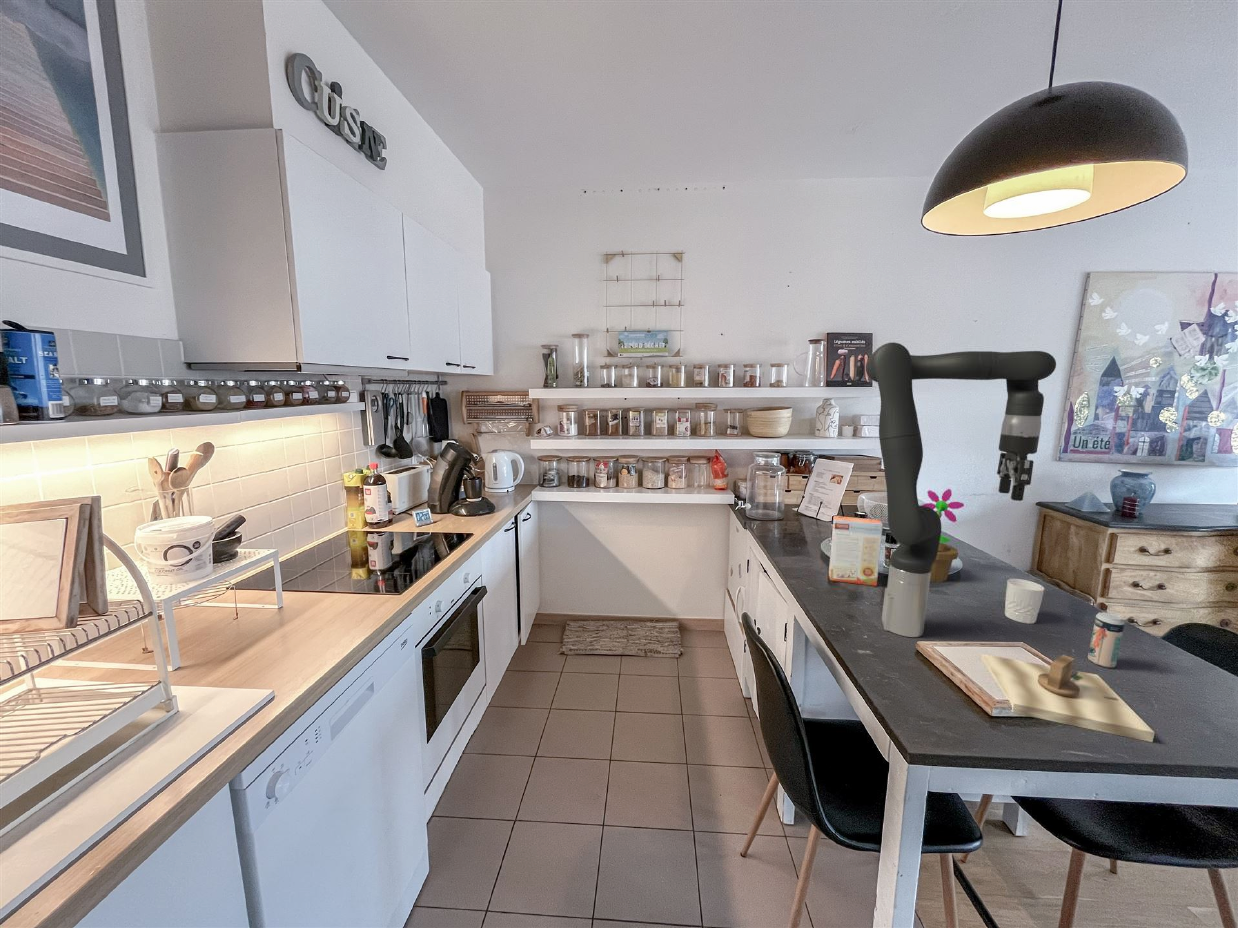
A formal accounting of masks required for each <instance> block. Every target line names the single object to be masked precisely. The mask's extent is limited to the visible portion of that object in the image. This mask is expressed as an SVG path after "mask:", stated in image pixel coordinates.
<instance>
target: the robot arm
mask: <svg viewBox="0 0 1238 928" xmlns="http://www.w3.org/2000/svg"><path fill="white" fill-rule="evenodd" d="M1056 368H1057V361H1056V359H1055V357H1054V356H1053V355H1052V354H1050V353H1048V352H1046V351H1042V350H1025V351H1023V350H1022V351H1006V352H1003V351H988V350H987V351H984V350H983V351H982V350H981V351H978V350H977V351H975V350H974V351H972V350H970V351H969V350H968V351H956V352H948V353H947V352H946V353H940V354H933V355H932V354H931V355H929V354H928V355H915V354H911V352H910V351H909V349H907V347H906V346H905V345H903V344H901V343H898V342H887V343H884V344H882V345H880V346H879V347H878V348H877V349H876V350H875V351H874V352H873V353H872V354H871V355H870V356H869V358H868V359H867V361H866V362H865V373H866V375H867V377H868V378H869V379H870V380H871V381H873V382H875V383H877V386H878V391H879V397H880V411H879V421H878V437H879V446H880V452H881V457H882V462H883V471H884V478H885V486H886V487H885V488H886V497H887V499H886V501H887V503H886V504H887V522H888V528H889V529H888V530H889V532H890V534H891V536H892V537H893V538H894V539H895V540H896V542H897V543H899V545H898V546H897V547H896V549H895V550H894V551H892V553H891V556H890V558H889V559H890V561H889V568H888V577H887V587H885V588H884V596H883V603H882V605H883V606H882V614H881V623H882V625H883V629H884V631H888V632H891V633H894V634H895V635H899V636H903V637H907V638H908V637H909V638H919V637H922V635H923V634H924V629H925V620H926V615H927V605H928V597H929V590H930V583H931V581H930V576H931V569H932V565H933V563H934V561H935V560H936V557H937V553H938V548H939V543H941V542H940V537H941V536H942V535H941V534H942V521H941V518H940V517H939V515H938V514H937V513H936V511H937V510H934V509H932V508H930V507H927V506H921V505H920V504H919V499H918V493H917V487H918V480H919V476H920V475H919V474H920V472H921V467H922V464H923V458H924V448H923V442H922V440H923V439H922V435H921V431H920V430H921V429H920V424H919V419H918V414H917V413H918V412H917V409H916V403H915V400H914V393H913V392H914V391H913V381H915V380H932V379H933V380H966V381H969V380H970V381H973V380H974V381H992V380H994V381H995V380H1006V381H1005V382H1006V393H1007V398H1006V399H1007V400H1006V405H1005V411H1004V417H1003V421H1002V424H1001V430H1000V437H999V444H998V450H999V451H1000V454H999V460H998V465H997V466H998V467H997V471H996V475H998V477H999V484H998V485H999V486H998V493H1000V494H1010V491H1011V496H1010V499H1011V500H1012V501H1017V502H1021V501H1023V500H1024V495H1025V494H1024V493H1025V488H1026V487H1027V486H1030V485H1031V483H1032V475H1033V470H1034V469H1033V468H1034V460H1033V459H1032V460H1031V459H1028V455H1035V454H1036V453H1037V452H1038V447H1039V441H1040V434H1041V429H1042V415H1043V408H1044V404H1045V398H1044V397H1045V396H1044V394H1043V392H1040V390H1039V381H1041V380H1045V379H1046V378H1048V377H1050V376H1051V375H1052V374H1053V373H1054V372H1055V370H1056ZM1011 485H1012V488H1011Z"/></svg>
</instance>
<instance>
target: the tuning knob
mask: <svg viewBox="0 0 1238 928" xmlns="http://www.w3.org/2000/svg"><path fill="white" fill-rule="evenodd" d="M1074 663H1075V658H1073V657H1070V656H1067V655H1065V654H1062V655H1060V656H1059V657H1057V658H1056V659H1054V660H1053V661H1051V662H1050V665H1049V666H1050V672H1049V674H1040V675H1039V676H1038V683H1039V684H1040V685H1041V686H1042V687H1044V688H1045V689H1047V690H1049V691H1051V692H1053V693H1056V694H1059V695H1062V696H1067V697H1077V696H1078V695H1079V692H1080V688H1079V687H1078V686H1077V685H1076V684H1075V683H1073V682H1072V681H1070V679H1071V678H1072V677H1074V676H1075V675H1077V674H1078V671H1079V670H1075V669H1074V668H1073V667H1074ZM1072 670H1073V671H1072Z"/></svg>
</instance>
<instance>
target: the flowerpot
mask: <svg viewBox="0 0 1238 928" xmlns="http://www.w3.org/2000/svg"><path fill="white" fill-rule="evenodd" d="M926 492H927V496H928V498H929V499H930V500H931V502H929V503H923V504H921V505H920V506H927V507H930V508H932V509H933V510H934V509H936V510H935V511H936V513H937V514H938V515H939V517H940V519H941V517H942V516H943V512H944V516H945V517H946V518H947V520H948V521H950V522H952V523H955V522H957V516H956V515H955V513H954V512H952V510H957V509H958V510H959V509H961V508H963V507H965V505H964V504H965V503H963V502H961V501H951V502H949V503H947V501H949V500H950V499H951V498H952V489H950V488H947V489H946V490H944V492H943V493H942V495H941V500H940V498H939V497H940V496H939V495H938V494H937V493H936V492H935V491H933V490H930V489H929V490H928V491H926ZM932 502H933V503H932ZM934 502H935V504H934ZM948 508H949V509H948ZM950 509H951V510H950ZM950 542H951V540H950V539H949V538H947V537H945V536H943V535H941V537H940V542H939V548H938V553H937V557H936V560H935V561H934V563H933V565H932V569H931V576H930V582H937V583H940V582H941V583H942V582H946V581H947V580H948V577H949V573H950V570H951V567H952V563H953V561H954V560H957V559H958V555H959V554H958V553H959V550H958V549H957V548H955V547H953V546H952V545H950V544H945V543H950Z"/></svg>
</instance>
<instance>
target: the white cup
mask: <svg viewBox="0 0 1238 928" xmlns="http://www.w3.org/2000/svg"><path fill="white" fill-rule="evenodd" d="M1006 581H1007V582H1006V591H1005V602H1004V603H1005V606H1004V614H1005V616H1006V617H1007V618H1008V619H1011V621H1015V622H1018V623H1023V624H1028V625H1029V624H1035V623H1036V622H1037V619H1038V615H1039V612H1040V607H1041V604H1042V600H1043V597H1044V593H1045V587H1044V586H1043V585H1041V584H1039V583H1036V582H1034V581H1031V580H1026V579H1022V578H1021V579H1020V578H1009V579H1007V580H1006Z"/></svg>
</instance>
